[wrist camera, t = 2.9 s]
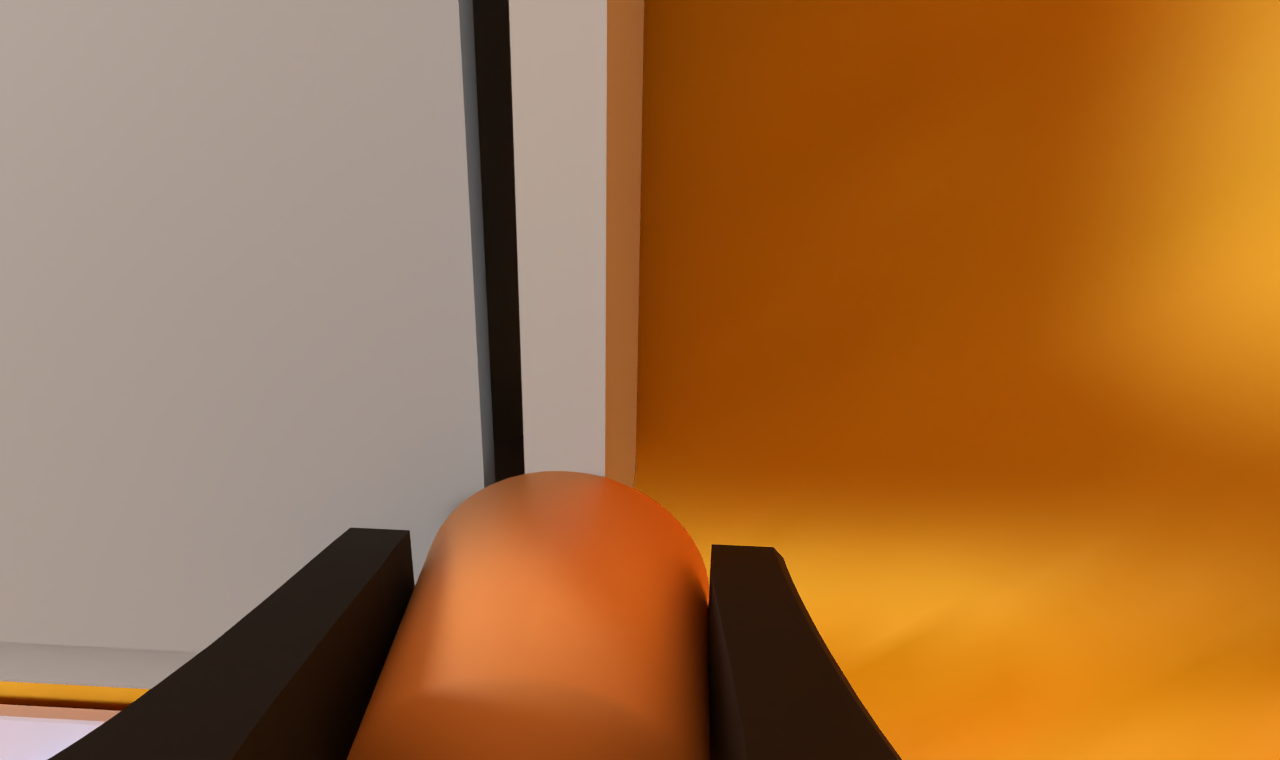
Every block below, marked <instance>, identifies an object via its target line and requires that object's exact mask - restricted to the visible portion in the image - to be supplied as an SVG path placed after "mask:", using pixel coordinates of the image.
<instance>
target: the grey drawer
mask: <svg viewBox="0 0 1280 760" xmlns="http://www.w3.org/2000/svg"><path fill="white" fill-rule="evenodd" d="M509 20H510V49H511V79H512V109H513V138H514V168H515V198H516V227H517V257H518V287H519V316H520V346H521V376H522V405H523V435H524V465H525V474H523V475H519V476H515V477H511V478H507V479H504V480H502V481H499V482H497V483H494V484H492V485H489V486H488V487H486V488H484V489H482V490H480V491H478V492H477V493H475V494H473V495H472V496H471V497H469V498H468V499H467V500H465V501H464V502H463V503H461V504H460V505H459V506H458V507H457V508H456V509H455V510H454V511H453V512H452V513H451V514H450V515H449V516H448V518H447V519H446V520H445V522H444V523H443V524H442V526H441V527H440V529H439V531H438V532H437V534H436V536H435V538H434V540H433V542H432V545H431V547H430V550H429V552H428V555H427V557H426V560H425V562H424V565H423V567H422V570H421V572H420V575H419V577H418V580H417V583H416V585H415V588H414V590H413V593H412V595H411V598H410V600H409V603H408V605H407V608H406V610H405V613H404V615H403V618H402V620H401V623H400V626H399V628H398V631H397V633H396V636H395V638H394V641H393V643H392V646H391V648H390V651H389V653H388V656H387V658H386V661H385V664H384V666H383V669H382V671H381V674H380V676H379V679H378V681H377V684H376V686H375V689H374V691H373V694H372V696H371V699H370V701H369V704H368V707H367V709H366V712H365V714H364V717H363V719H362V722H361V724H360V727H359V729H358V732H357V734H356V737H355V739H354V742H353V745H352V747H351V750H350V752H349V755H348V757H347V760H710V712H709V679H708V604H709V582H708V577H707V572H706V568H705V565H704V562H703V560H702V557H701V554H700V552H699V550H698V549H697V547H696V545H695V543H694V541H693V539H692V538H691V537H690V535H689V534H688V533H687V531H686V530H685V528H684V527H683V526H682V525H681V524H680V523H679V522H678V521H677V520H676V518H675V517H674V516H673V515H672V514H671V513H670V512H668V511H667V510H666V509H665V508H663V507H662V506H661V505H660V504H658V503H657V502H656V501H654V500H653V499H651V498H649V497H648V496H646V495H645V494H643V493H641V492H640V491H638V490H635V489H633V486H634V478H635V469H636V426H637V372H638V318H639V263H640V209H641V154H642V100H643V45H644V0H509Z"/></svg>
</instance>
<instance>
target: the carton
mask: <svg viewBox="0 0 1280 760" xmlns="http://www.w3.org/2000/svg"><path fill="white" fill-rule="evenodd" d="M523 474H525V465H524V435H523V405H522V376H521V346H520V316H519V287H518V257H517V227H516V198H515V168H514V138H513V109H512V79H511V49H510V20H509V0H0V681H10V682H29V683H47V684H66V685H85V686H103V687H122V688H140V689H152V688H153V687H154V686H156V685H157V684H158V683H160V682H161V681H162V680H164V679H165V678H166V677H168V676H169V675H170V674H172V673H173V672H175V671H176V670H177V669H179V668H180V667H181V666H183V665H184V664H185V663H187V662H188V661H189V660H191V659H192V658H193V657H195V656H196V655H197V654H199V653H200V652H201V651H203V650H204V649H205V648H207V647H208V646H209V645H210V644H212V643H213V642H214V641H215V640H217V639H218V638H219V637H220V636H222V635H223V634H224V633H225V632H226V631H228V630H229V629H230V628H231V627H233V626H234V625H235V624H236V623H237V622H239V621H240V620H241V619H242V618H243V617H245V616H246V615H247V614H248V613H250V612H251V611H252V610H253V609H254V608H256V607H257V606H258V605H259V604H260V603H262V602H263V601H264V600H265V599H266V598H268V597H269V596H270V595H271V594H272V593H273V592H275V591H276V590H277V589H278V588H279V587H281V586H282V585H283V584H284V583H285V582H286V581H288V580H289V579H290V578H291V577H292V576H293V575H295V574H296V573H297V572H298V571H299V570H300V569H302V568H303V567H304V566H305V565H306V564H307V563H309V562H310V561H311V560H312V559H313V558H314V557H316V556H317V555H318V554H319V553H320V552H321V551H323V550H324V549H325V548H326V547H327V546H329V545H330V544H331V543H332V542H333V541H334V540H336V539H337V538H338V537H339V536H341V535H342V534H343V533H344V532H346V531H347V530H348V529H349V528H372V529H393V530H410V539H411V550H412V561H413V573H414V584H415V585H416V583H417V580H418V577H419V575H420V572H421V570H422V567H423V565H424V562H425V560H426V557H427V555H428V552H429V550H430V547H431V545H432V542H433V540H434V538H435V536H436V534H437V532H438V531H439V529H440V527H441V526H442V524H443V523H444V522H445V520H446V519H447V518H448V516H449V515H450V514H451V513H452V512H453V511H454V510H455V509H456V508H457V507H458V506H459V505H460V504H461V503H463V502H464V501H465V500H467V499H468V498H469V497H471V496H472V495H473V494H475V493H477V492H478V491H480V490H482V489H484V488H486V487H488V486H489V485H492V484H494V483H497V482H499V481H502V480H504V479H507V478H511V477H515V476H519V475H523Z"/></svg>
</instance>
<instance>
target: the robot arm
mask: <svg viewBox="0 0 1280 760" xmlns="http://www.w3.org/2000/svg"><path fill="white" fill-rule="evenodd" d="M414 588H415V584H414V573H413V561H412V550H411V539H410V530H393V529H372V528H349V529H348V530H347V531H346V532H344V533H343V534H342V535H341V536H339V537H338V538H337V539H336V540H334V541H333V542H332V543H331V544H330V545H329V546H327V547H326V548H325V549H324V550H323V551H321V552H320V553H319V554H318V555H317V556H316V557H314V558H313V559H312V560H311V561H310V562H309V563H307V564H306V565H305V566H304V567H303V568H302V569H300V570H299V571H298V572H297V573H296V574H295V575H293V576H292V577H291V578H290V579H289V580H288V581H286V582H285V583H284V584H283V585H282V586H281V587H279V588H278V589H277V590H276V591H275V592H273V593H272V594H271V595H270V596H269V597H268V598H266V599H265V600H264V601H263V602H262V603H260V604H259V605H258V606H257V607H256V608H254V609H253V610H252V611H251V612H250V613H248V614H247V615H246V616H245V617H243V618H242V619H241V620H240V621H239V622H237V623H236V624H235V625H234V626H233V627H231V628H230V629H229V630H228V631H226V632H225V633H224V634H223V635H222V636H220V637H219V638H218V639H217V640H215V641H214V642H213V643H212V644H210V645H209V646H208V647H207V648H205V649H204V650H203V651H201V652H200V653H199V654H197V655H196V656H195V657H193V658H192V659H191V660H189V661H188V662H187V663H185V664H184V665H183V666H181V667H180V668H179V669H177V670H176V671H175V672H173V673H172V674H170V675H169V676H168V677H166V678H165V679H164V680H162V681H161V682H160V683H158V684H157V685H156V686H154V687H153V688H152V689H150V690H149V691H148V692H146V693H145V694H144V695H142V696H141V697H140V698H138V699H137V700H136V701H134V702H133V703H132V704H130V705H129V706H128V707H126V708H125V709H124V710H122V711H116V710H98V709H80V708H62V707H43V706H25V705H7V704H0V760H347V757H348V755H349V752H350V750H351V747H352V745H353V742H354V739H355V737H356V734H357V732H358V729H359V727H360V724H361V722H362V719H363V717H364V714H365V712H366V709H367V707H368V704H369V701H370V699H371V696H372V694H373V691H374V689H375V686H376V684H377V681H378V679H379V676H380V674H381V671H382V669H383V666H384V664H385V661H386V658H387V656H388V653H389V651H390V648H391V646H392V643H393V641H394V638H395V636H396V633H397V631H398V628H399V626H400V623H401V620H402V618H403V615H404V613H405V610H406V608H407V605H408V603H409V600H410V598H411V595H412V593H413V590H414ZM708 679H709V712H710V760H902V759H901V758H900V757H899V755H898V754H897V752H896V751H895V750H894V748H893V747H892V745H891V744H890V743H889V741H888V740H887V739H886V737H885V736H884V734H883V733H882V732H881V730H880V729H879V727H878V726H877V725H876V723H875V722H874V720H873V719H872V717H871V716H870V714H869V713H868V711H867V710H866V708H865V707H864V705H863V704H862V702H861V701H860V699H859V698H858V696H857V695H856V693H855V691H854V690H853V688H852V687H851V685H850V683H849V682H848V680H847V679H846V677H845V675H844V674H843V672H842V671H841V669H840V667H839V666H838V664H837V663H836V661H835V659H834V658H833V656H832V655H831V653H830V651H829V649H828V648H827V646H826V644H825V643H824V641H823V639H822V637H821V636H820V634H819V632H818V630H817V628H816V626H815V625H814V623H813V621H812V619H811V617H810V615H809V613H808V611H807V610H806V608H805V606H804V604H803V602H802V600H801V598H800V596H799V594H798V592H797V589H796V587H795V585H794V583H793V581H792V579H791V576H790V574H789V572H788V569H787V567H786V564H785V561H784V559H783V557H782V556H781V555H780V554H779V553H778V552H777V551H776V550H775V549H774V548H773V547H755V546H734V545H712V550H711V568H710V586H709V604H708Z"/></svg>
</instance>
